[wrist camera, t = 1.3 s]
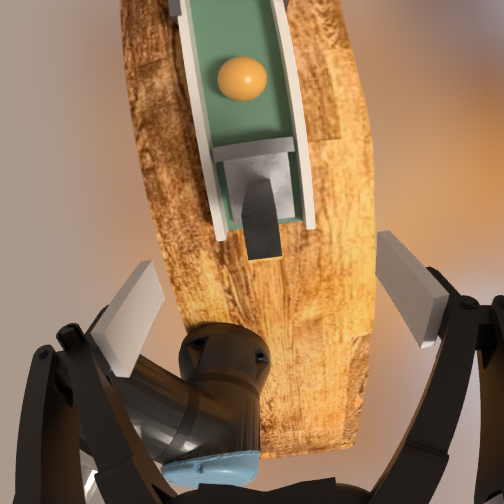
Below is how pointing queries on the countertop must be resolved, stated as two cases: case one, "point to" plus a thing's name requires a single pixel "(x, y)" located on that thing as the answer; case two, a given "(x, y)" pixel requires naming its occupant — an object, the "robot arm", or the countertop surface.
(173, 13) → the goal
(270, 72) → the board
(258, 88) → the ball
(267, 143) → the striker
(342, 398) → the countertop surface
